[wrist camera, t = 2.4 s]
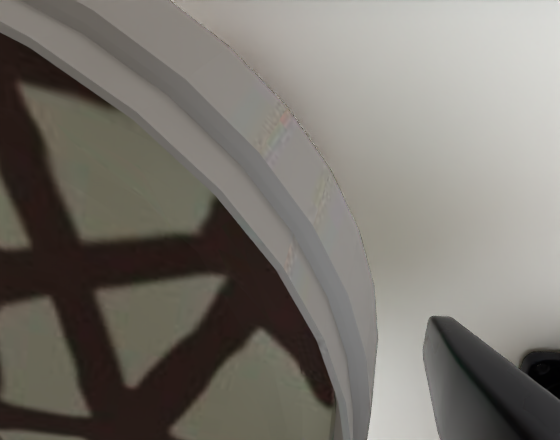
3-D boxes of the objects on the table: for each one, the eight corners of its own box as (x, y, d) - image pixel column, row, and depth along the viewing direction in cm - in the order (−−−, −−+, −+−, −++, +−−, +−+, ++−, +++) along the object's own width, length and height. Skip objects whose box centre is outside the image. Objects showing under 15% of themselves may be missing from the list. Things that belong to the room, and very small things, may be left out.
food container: (291, 354, 17) (268, 720, 8) (148, 320, 17) (-44, 655, 8) (396, 46, 12) (677, 83, 3) (191, -11, 12) (-238, -173, 3)
